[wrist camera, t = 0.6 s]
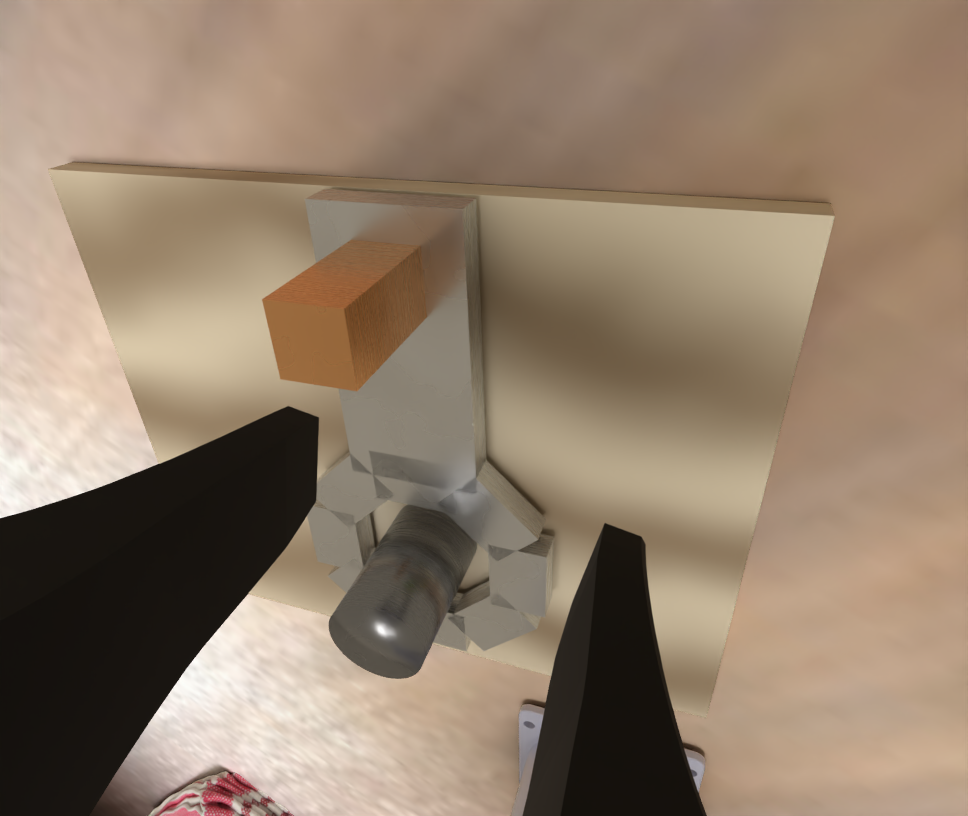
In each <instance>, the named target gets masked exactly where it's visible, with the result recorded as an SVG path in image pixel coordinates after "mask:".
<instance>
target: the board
mask: <svg viewBox="0 0 968 816" xmlns="http://www.w3.org/2000/svg"><path fill="white" fill-rule="evenodd" d="M48 171H49V174H50V177H51V179H52V182H53V185H54V187H55V190H56V193H57V195H58V198H59V200H60V203H61V206H62V208H63V211H64V214H65V216H66V219H67V222H68V224H69V227H70V230H71V232H72V235H73V238H74V240H75V243H76V246H77V248H78V251H79V253H80V256H81V259H82V261H83V264H84V267H85V269H86V272H87V275H88V277H89V280H90V283H91V285H92V288H93V291H94V293H95V296H96V299H97V301H98V304H99V307H100V309H101V312H102V314H103V317H104V320H105V322H106V325H107V328H108V330H109V333H110V336H111V338H112V341H113V344H114V346H115V349H116V352H117V354H118V357H119V360H120V362H121V365H122V367H123V370H124V373H125V375H126V378H127V381H128V383H129V386H130V389H131V391H132V394H133V397H134V399H135V402H136V405H137V407H138V410H139V413H140V415H141V418H142V420H143V423H144V426H145V428H146V431H147V434H148V436H149V439H150V442H151V444H152V447H153V450H154V452H155V455H156V458H157V460H158V463H159V464H160V463H162V462H165V461H167V460H170V459H172V458H175V457H177V456H179V455H181V454H184V453H186V452H188V451H190V450H193V449H195V448H197V447H199V446H201V445H204V444H206V443H208V442H210V441H213V440H215V439H217V438H219V437H222V436H224V435H226V434H228V433H230V432H232V431H234V430H237V429H239V428H241V427H243V426H245V425H247V424H249V423H252V422H254V421H256V420H258V419H260V418H262V417H264V416H267V415H269V414H271V413H273V412H275V411H278V410H280V409H282V408H285V407H287V406H290V407H293V408H295V409H298V410H301V411H303V412H306V413H309V414H312V415H314V416H317V417H319V435H318V466H317V480H318V478H319V477H320V476H321V475H322V474H323V473H324V472H325V471H326V470H327V469H329V468H330V467H331V466H332V465H333V464H334V463H336V462H337V461H338V460H339V459H340V458H341V457H343V456H344V455H345V454H346V453H347V452H348V451H349V446H348V440H347V434H346V429H345V423H344V417H343V412H342V406H341V401H340V395H339V389H338V388H332V387H326V386H320V385H313V384H307V383H301V382H294V381H288V380H282V379H280V375H279V371H278V367H277V362H276V358H275V354H274V349H273V345H272V341H271V337H270V332H269V328H268V324H267V319H266V315H265V311H264V306H263V302H262V299H263V298H265V297H266V296H268V295H269V294H271V293H272V292H274V291H275V290H277V289H278V288H280V287H281V286H283V285H284V284H286V283H287V282H289V281H290V280H292V279H293V278H295V277H296V276H298V275H299V274H301V273H302V272H304V271H305V270H307V269H308V268H310V267H311V266H313V265H314V264H316V260H315V254H314V249H313V243H312V238H311V232H310V226H309V221H308V215H307V209H306V204H305V198H307V197H309V196H311V195H313V194H315V193H317V192H319V191H321V190H323V189H335V190H351V191H368V192H384V193H401V194H417V195H433V196H450V197H466V198H476V201H477V227H478V253H479V279H480V305H481V331H482V357H483V383H484V409H485V435H486V460H487V461H488V462H489V463H490V464H491V465H492V466H493V467H494V468H495V469H496V470H497V471H498V472H499V473H500V474H501V475H502V476H503V477H504V478H505V479H506V480H507V481H508V482H509V483H510V484H511V485H512V486H513V487H514V488H515V489H516V490H517V491H518V492H519V493H520V494H521V495H522V496H523V497H524V498H525V499H526V500H527V501H528V502H529V503H530V504H531V505H532V506H533V507H534V508H535V509H536V510H537V511H538V512H539V513H540V514H541V515H542V516H543V517H545V518H546V520H545V523H544V526H543V528H542V531H541V534H544V535H549V536H554V556H553V585H552V598H551V601H550V604H549V607H548V610H547V614H546V617H541V618H540V621H539V624H538V627H537V629H536V630H533V631H531V632H528V633H526V634H524V635H521V636H519V637H517V638H514V639H512V640H510V641H507V642H505V643H502V644H500V645H498V646H495V647H493V648H491V649H488V650H486V651H483V650H482V649H481V648H480V647H478V646H477V645H476V644H475V643H474V642H473V641H472V640H471V642H470V645H469V647H468V649H467V652H466V651H463V650H459V649H455V648H452V647H448V646H444V645H441V644H437V643H432V644H434V645H438V646H441V647H445V648H449V649H452V650H456V651H460V652H463V653H467V654H471V655H474V656H478V657H482V658H485V659H489V660H493V661H496V662H500V663H504V664H508V665H511V666H515V667H519V668H522V669H526V670H530V671H533V672H537V673H541V674H544V675H548V676H551V675H552V670H553V665H554V660H555V656H556V653H557V650H558V646H559V643H560V640H561V637H562V633H563V630H564V627H565V624H566V620H567V617H568V614H569V611H570V608H571V604H572V601H573V599H574V596H575V594H576V591H577V589H578V587H579V584H580V582H581V579H582V577H583V574H584V572H585V569H586V567H587V565H588V562H589V560H590V557H591V555H592V552H593V550H594V548H595V545H596V543H597V540H598V538H599V535H600V533H601V530H602V528H603V526H604V523H606V524H609V525H612V526H615V527H617V528H620V529H623V530H625V531H628V532H631V533H634V534H636V535H639V536H642V538H643V540H644V542H645V544H646V566H647V577H648V586H649V594H650V601H651V608H652V615H653V621H654V626H655V632H656V637H657V642H658V647H659V652H660V656H661V661H662V666H663V671H664V675H665V679H666V684H667V688H668V692H669V696H670V700H671V703H672V707H673V710H677V711H680V712H684V713H688V714H691V715H695V716H699V717H702V718H707V714H708V710H709V706H710V702H711V698H712V694H713V690H714V686H715V682H716V678H717V675H718V671H719V667H720V663H721V659H722V655H723V651H724V647H725V643H726V639H727V636H728V632H729V628H730V624H731V620H732V616H733V612H734V608H735V604H736V600H737V596H738V593H739V589H740V585H741V581H742V577H743V573H744V569H745V565H746V561H747V557H748V553H749V550H750V546H751V542H752V538H753V534H754V530H755V526H756V522H757V518H758V514H759V510H760V507H761V503H762V499H763V495H764V491H765V487H766V483H767V479H768V475H769V471H770V467H771V464H772V460H773V456H774V452H775V448H776V444H777V440H778V436H779V432H780V428H781V424H782V421H783V417H784V413H785V409H786V405H787V401H788V397H789V393H790V389H791V385H792V382H793V378H794V374H795V370H796V366H797V362H798V358H799V354H800V350H801V346H802V342H803V339H804V335H805V331H806V327H807V323H808V319H809V315H810V311H811V307H812V303H813V299H814V296H815V292H816V288H817V284H818V280H819V276H820V272H821V268H822V264H823V260H824V256H825V253H826V249H827V245H828V241H829V237H830V233H831V229H832V225H833V221H834V217H835V215H834V212H833V209H832V206H831V203H814V202H796V201H778V200H759V199H741V198H722V197H704V196H686V195H667V194H649V193H630V192H612V191H594V190H575V189H557V188H538V187H520V186H502V185H483V184H465V183H446V182H428V181H410V180H391V179H373V178H354V177H336V176H318V175H299V174H281V173H262V172H244V171H226V170H207V169H189V168H170V167H152V166H134V165H115V164H97V163H78V162H72V163H68V164H65V165H61V166H58V167H54V168H51V169H48ZM406 505H408V504H403V503H399V502H394V501H389V500H387V501H386V502H385V503H383V504H382V505H381V506H379V507H378V508H376V509H375V510H374V511H372V512H371V513H370V520H371V526H372V532H373V538H374V544H375V547H377V545H378V544H379V542H380V541H381V539H382V538H383V536H384V535H385V533H386V532H387V530H388V529H389V527H390V526H391V524H392V522H393V521H394V519H395V518H396V516H397V515H398V513H399V512H400V510H401V509H402V508H403V507H404V506H406ZM333 568H334V565H330V564H326V563H321V562H318V560H317V556H316V551H315V547H314V543H313V539H312V535H311V530H310V526H309V522H308V518H307V517H306V518H305V520H304V521H303V523H302V525H301V526H300V528H299V529H298V531H297V532H296V534H295V535H294V537H293V538H292V540H291V541H290V543H289V544H288V546H287V547H286V549H285V550H284V551H283V552H282V554H281V555H280V556H279V557H278V558H277V560H276V561H275V562H274V563H273V564H272V566H271V567H270V568H269V569H268V571H267V572H266V573H265V574H264V575H263V577H262V578H261V579H260V580H259V581H258V583H257V584H256V585H255V586H254V587H253V588H252V590H251V591H250V592H249V593H248V594H250V595H254V596H257V597H261V598H265V599H268V600H272V601H276V602H279V603H283V604H287V605H290V606H294V607H298V608H302V609H305V610H309V611H313V612H316V613H320V614H324V615H327V616H332V614H333V613H334V611H335V610H336V608H337V607H338V605H339V604H340V602H341V600H342V599H343V597H344V596H345V594H346V592H345V591H344V590H343V589H341V588H340V587H339V586H338V585H337V584H336V583H335V582H334V581H332V580H331V579H330V578H329V577H328V575H329V573H330V572H331V571H332V569H333ZM487 581H489V558H488V553H487V552H486V551H485V550H484V549H483V548H482V547H481V546H480V545H479V544H478V543H477V550H476V553H475V555H474V557H473V560H472V562H471V564H470V566H469V568H468V570H467V572H466V574H465V576H464V578H463V581H462V583H461V585H460V587H459V589H458V591H457V593H461V594H464V593H466V592H468V591H470V590H472V589H474V588H475V587H477V586H479V585H481V584H483V583H485V582H487Z"/></svg>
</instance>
